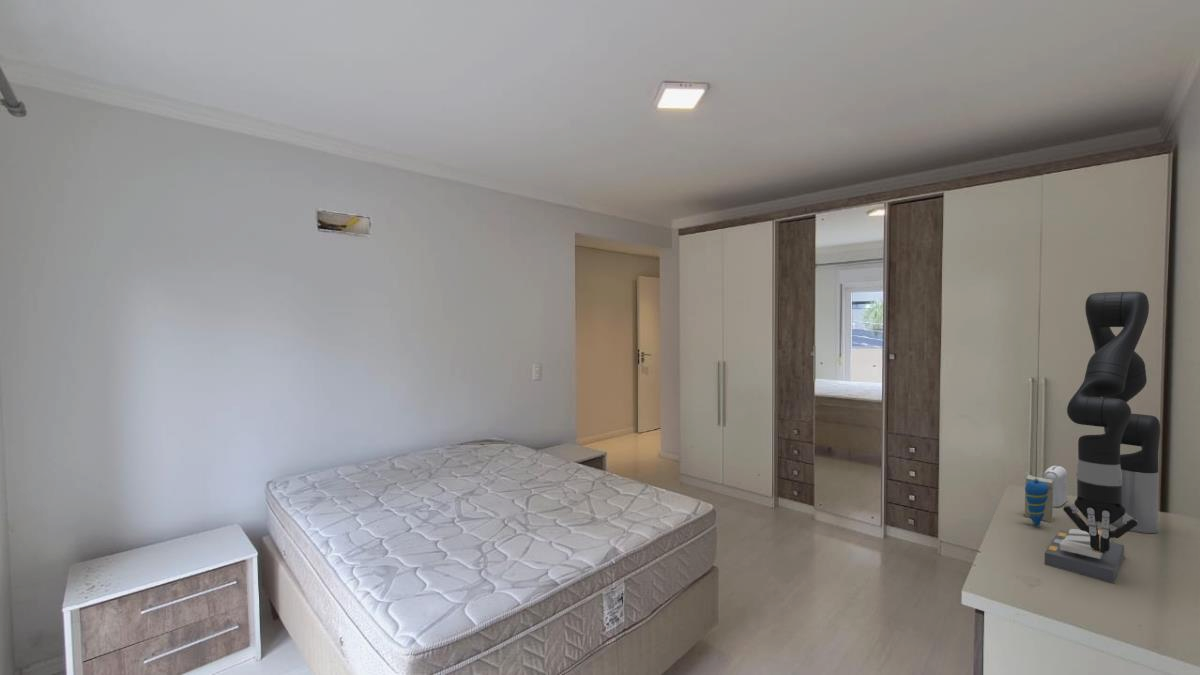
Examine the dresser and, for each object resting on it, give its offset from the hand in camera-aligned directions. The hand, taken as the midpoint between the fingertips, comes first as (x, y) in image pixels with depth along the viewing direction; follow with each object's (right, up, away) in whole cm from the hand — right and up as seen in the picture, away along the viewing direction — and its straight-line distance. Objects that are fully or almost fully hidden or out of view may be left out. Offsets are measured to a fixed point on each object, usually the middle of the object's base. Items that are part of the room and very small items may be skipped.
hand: (1099, 551), depth 116 cm
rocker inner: (+8, 0, +10) cm, 13 cm away
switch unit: (+3, -5, +6) cm, 9 cm away
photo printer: (+31, -4, +44) cm, 54 cm away
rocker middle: (+3, 0, +6) cm, 7 cm away
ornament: (+9, -5, +26) cm, 28 cm away
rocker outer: (-2, -1, +3) cm, 3 cm away
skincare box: (+15, -4, +33) cm, 36 cm away
